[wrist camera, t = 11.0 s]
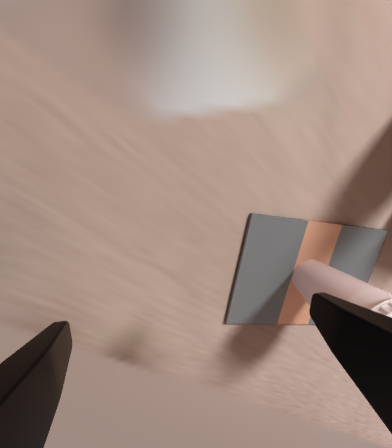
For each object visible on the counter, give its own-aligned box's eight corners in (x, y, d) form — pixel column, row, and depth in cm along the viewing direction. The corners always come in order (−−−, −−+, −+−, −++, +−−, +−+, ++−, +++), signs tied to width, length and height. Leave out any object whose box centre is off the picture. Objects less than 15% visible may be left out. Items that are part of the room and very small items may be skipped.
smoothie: (294, 311, 26) (441, 472, 13) (270, 271, 24) (418, 417, 11) (342, 278, 26) (538, 407, 13) (322, 235, 24) (534, 338, 11)
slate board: (225, 321, 25) (226, 323, 25) (250, 213, 22) (252, 214, 22) (347, 322, 29) (350, 324, 29) (384, 229, 26) (388, 231, 25)
